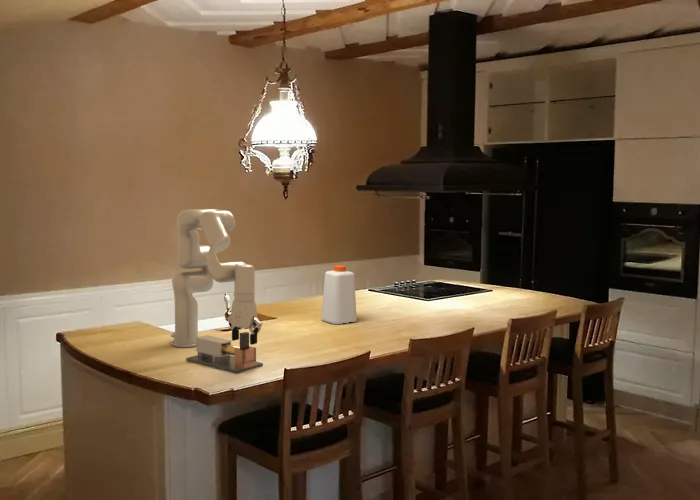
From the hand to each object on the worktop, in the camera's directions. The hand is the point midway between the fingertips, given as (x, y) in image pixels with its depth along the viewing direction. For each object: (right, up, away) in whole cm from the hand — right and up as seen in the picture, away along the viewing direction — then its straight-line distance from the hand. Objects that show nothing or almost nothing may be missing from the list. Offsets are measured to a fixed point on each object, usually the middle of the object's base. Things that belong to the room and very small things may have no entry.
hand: (244, 341), depth 278 cm
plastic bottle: (+34, -1, +91) cm, 97 cm away
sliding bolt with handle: (-6, -5, +5) cm, 9 cm away
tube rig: (-9, -9, +8) cm, 15 cm away
